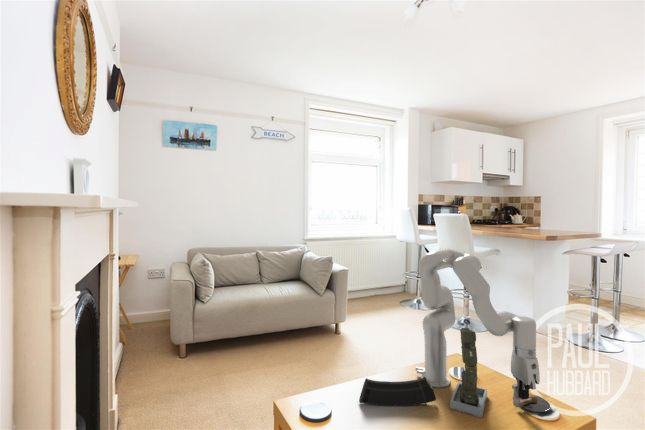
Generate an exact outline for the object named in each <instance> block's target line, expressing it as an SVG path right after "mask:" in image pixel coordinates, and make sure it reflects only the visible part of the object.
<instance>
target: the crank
mask: <svg viewBox="0 0 645 430" xmlns="http://www.w3.org/2000/svg"><path fill="white" fill-rule="evenodd" d="M511 389H513V390H512V391H513V392H512V393H513V398H512V399H513V400H512V401H513V404H512V405H513V406H514V407H515V408H520V406H521V405H524V404H527V403H530V402H532V403H537V400H538V397H537V396H538V395H537V396H536V394H533V393H529V399H523V400H522V399H520V398H519V397H518V393H519V387H518V385H517V383H515V384H512V385H511Z"/></svg>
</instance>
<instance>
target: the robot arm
mask: <svg viewBox="0 0 645 430" xmlns="http://www.w3.org/2000/svg"><path fill="white" fill-rule="evenodd" d="M446 268H447V269H448V268H451V269H452V270H453V272H454V274H455V275H456V276H457V278H458V279H459V281H460V282H461V284H462V285H463V286H464V288H465V290H466V291H467V292H468V294H469V295H470V297H471V301H472V305H473V308H474V311H475V314H476V315H477V317H478V319H479V320H480V322H481V323H482V325H483V326H484V328H485V329H486V330H487V331H488V332H489V333H490V334H491V335H493V336H495V337H503V336H505V335H507V334H508V333H512V353H511V357H510V372H511V375H512V377H513V378H515V380H516V384H517V385H518V387H519V393H518V397H519V398H521V399H522V400H523V399H529V394H530V390H537V386H536V385H539V384H540V383H541V381H540V377H541V376H540V365H539V361H538V357H537V354H536V353H537V322H536V321H535V319H533V318H531V317H528V316H520V315H517V314H514V313H513V312H509V311H500V312H497V311H496V310H495V308H494V306H493V304H492V302H491V299H490V295H491V286H490V284H489V283H488V281H487V279H485V277H484V276H483V275H482V273H481V272H480V271H481V268H482V263H481V260H480V259H479V258H478V257H476V256H475V255H473V254H469V253H465V252H461V251H459V250H454V249H450V248H444V249H440V250H439V249H438V250H433V251H430V252H428V253H426V254H425V255H423V256H422V257H421V258H420V260H419V263H418V270H419V277H420V285H421V286H420V287H421V294H422V301H423V305H424V306H425V307H426V309H428V310H433V311H432V312H429V313H428V314H426V315H425V316H424V317H423V319H422V329H423V330H422V331H423V335H424V367H419V366H415V371H416V373H417V374H419V375H421V376H420V377H421V378H420V379H422V378H423V377H425V378H426V380H427V382H428V380H429V382H430V384H431V386H432V388H433V387H434V388H438V389H439V388H446V387H448V386H449V385H450V383H451V379H450V378H449V377H448V375H447V359H448V358H447V357H448V356H447V353H448V352H447V348H448V347H447V339H446V336H445V332H446V331H447V330H449V329H451V328H452V327H453V326H454V325H455V323H456V309H455V302H454V295H453V294H452V291H451V290H450V289H449V288H448V287H447V286H445V285H442V284H441V278H440V275H439V273H438V271H439V270H445V269H446Z"/></svg>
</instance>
